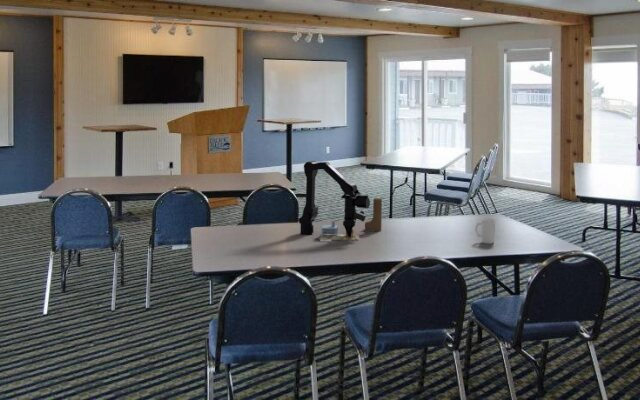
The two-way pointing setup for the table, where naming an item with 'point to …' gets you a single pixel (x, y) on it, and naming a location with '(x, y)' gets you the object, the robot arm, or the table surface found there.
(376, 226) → the wooden block
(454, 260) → the table surface
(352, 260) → the table surface
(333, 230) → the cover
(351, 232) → the block
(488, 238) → the mug
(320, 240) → the mat
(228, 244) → the table surface
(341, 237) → the board
